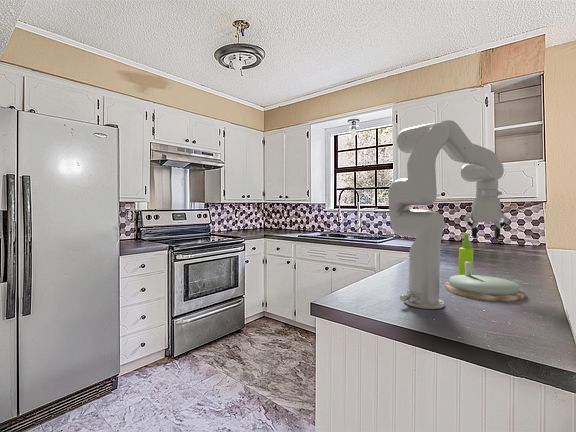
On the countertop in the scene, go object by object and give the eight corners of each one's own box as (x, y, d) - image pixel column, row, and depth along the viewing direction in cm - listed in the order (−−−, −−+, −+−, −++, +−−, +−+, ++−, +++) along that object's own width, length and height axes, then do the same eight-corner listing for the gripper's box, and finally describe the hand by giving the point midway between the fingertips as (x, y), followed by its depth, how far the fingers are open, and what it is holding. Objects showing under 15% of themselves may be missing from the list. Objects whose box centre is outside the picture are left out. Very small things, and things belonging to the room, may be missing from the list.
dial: (535, 295, 113) (536, 273, 113) (470, 295, 113) (471, 273, 113) (492, 279, 136) (493, 261, 136) (438, 279, 136) (439, 261, 136)
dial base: (501, 306, 107) (502, 300, 107) (431, 288, 129) (431, 283, 129) (537, 294, 120) (537, 290, 120) (468, 280, 143) (468, 276, 143)
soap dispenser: (468, 274, 153) (469, 232, 152) (475, 278, 146) (476, 234, 145) (455, 274, 154) (456, 232, 153) (461, 277, 147) (462, 233, 146)
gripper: (508, 194, 132) (507, 238, 133) (461, 194, 138) (460, 236, 139) (514, 194, 125) (513, 240, 126) (464, 194, 131) (463, 238, 131)
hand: (485, 237), depth 132 cm, fingers open, 7 cm apart
